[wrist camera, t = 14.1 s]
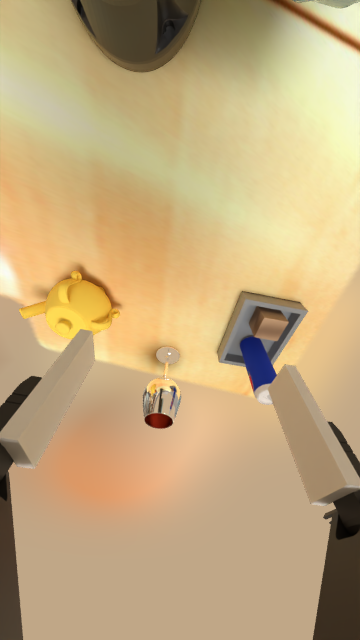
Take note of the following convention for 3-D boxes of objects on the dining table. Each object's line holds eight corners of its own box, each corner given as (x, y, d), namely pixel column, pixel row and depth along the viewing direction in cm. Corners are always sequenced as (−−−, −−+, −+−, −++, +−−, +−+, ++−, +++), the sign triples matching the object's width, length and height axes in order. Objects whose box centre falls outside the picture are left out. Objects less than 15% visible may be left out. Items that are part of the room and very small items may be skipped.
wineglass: (185, 364, 55) (182, 431, 40) (156, 366, 56) (143, 432, 41) (180, 342, 50) (175, 407, 35) (149, 345, 51) (132, 409, 36)
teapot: (42, 293, 44) (3, 321, 35) (79, 257, 39) (45, 279, 30) (92, 334, 50) (70, 368, 41) (130, 308, 45) (115, 339, 36)
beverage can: (235, 342, 48) (250, 396, 36) (253, 331, 46) (276, 384, 34) (247, 353, 50) (265, 408, 38) (265, 343, 48) (290, 398, 36)
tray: (241, 291, 42) (245, 299, 39) (300, 302, 42) (308, 311, 39) (217, 352, 52) (218, 362, 49) (264, 360, 52) (269, 370, 50)
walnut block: (257, 304, 42) (264, 317, 38) (279, 308, 43) (288, 322, 38) (248, 323, 45) (254, 337, 41) (269, 327, 45) (277, 341, 41)
